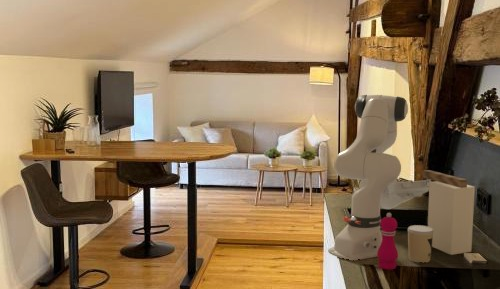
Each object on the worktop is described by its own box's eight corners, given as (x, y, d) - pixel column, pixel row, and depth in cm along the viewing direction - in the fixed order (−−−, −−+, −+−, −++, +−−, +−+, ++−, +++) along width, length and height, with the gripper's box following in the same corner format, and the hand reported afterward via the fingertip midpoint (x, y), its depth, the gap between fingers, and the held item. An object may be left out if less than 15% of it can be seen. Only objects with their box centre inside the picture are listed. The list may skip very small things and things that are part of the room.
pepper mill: (391, 271, 195) (393, 216, 192) (373, 266, 199) (374, 212, 197) (401, 266, 200) (403, 212, 197) (383, 261, 205) (384, 209, 202)
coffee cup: (433, 264, 202) (435, 232, 201) (407, 262, 204) (408, 231, 202) (430, 256, 211) (432, 225, 210) (405, 254, 213) (406, 224, 211)
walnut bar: (466, 187, 212) (467, 179, 212) (460, 187, 211) (461, 180, 211) (428, 177, 232) (429, 170, 232) (422, 177, 231) (423, 170, 231)
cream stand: (471, 251, 216) (474, 186, 213) (450, 254, 213) (454, 188, 209) (446, 241, 229) (449, 180, 226) (426, 244, 226) (429, 181, 222)
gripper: (381, 186, 244) (398, 175, 232) (418, 183, 252) (437, 172, 240) (384, 200, 242) (402, 190, 230) (422, 196, 249) (441, 186, 237)
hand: (420, 181), depth 235 cm, fingers open, 8 cm apart
